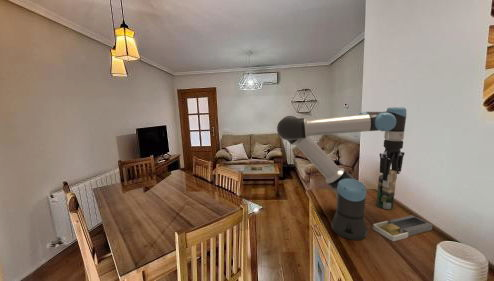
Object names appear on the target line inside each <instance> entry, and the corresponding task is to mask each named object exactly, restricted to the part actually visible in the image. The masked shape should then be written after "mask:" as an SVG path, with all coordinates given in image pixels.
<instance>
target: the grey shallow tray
mask: <svg viewBox="0 0 494 281" xmlns="http://www.w3.org/2000/svg"><path fill="white" fill-rule="evenodd" d="M387 221H388V224H391V223H392V224H394V225H396V226H398V227H400V228H401V229H400V234H402V233H406V232H407V233H408V237H412V236H415V235H419V234H421V233H425V232H426V233H427V232H429V231H432V230H433V224H432V223H429V222H427V221H425V220H423V219H421V218H419V217H417V216H415V215H413V214H410V215H406V216H403V217H397V218H394V219H389V220H387Z"/></svg>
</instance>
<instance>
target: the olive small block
mask: <svg viewBox="0 0 494 281" xmlns="http://www.w3.org/2000/svg"><path fill="white" fill-rule="evenodd" d="M387 225H389V226H391V227H392V228H394V229H396V230H395V235H398V234H401V233H400V229H401V228H400V227H398V226H396V225H394V224H392V223H391V224H387Z"/></svg>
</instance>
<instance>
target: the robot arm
mask: <svg viewBox="0 0 494 281" xmlns="http://www.w3.org/2000/svg"><path fill="white" fill-rule="evenodd" d="M406 120H407V108H406V107H403V106H402V107H400V106H399V107H395V106H393V107H387V108H386V111H361V112H359V113H358V114H355V115H343V116H333V117H332V116H331V117H324V118H312V119H307V118H305V117H301V118H299V117H296V116H294V115H286V116H284V117H283V118H282V119H280V121H278V123H277V126H276V133H277V134H278V136H279V137H280V138H281V139H282V140H286V141H287V142H288V143H289V144H290V146H291V145H292V146H295V147H297V149H299V151H300V152H301V153H302V154H303V155H304V156H305V157H306V158H307V159H308V160H309V161H310V162H311V164H312V165H313V166H314V167H315V168H316V169H317V170H318V171H319V172H320V173H321V174H322V175H323V176H324V178H325V183H326V184H327V185H328V186H329V188H331V189H332V191H333V192H334V193H335V196H336V211H335V213H334V216H333V218H332V220H331V224H330V225H331V230H332V231H333V232H334V233H336V234H337V235H338V236H340V237H341V238H344V239H348V240H353V241H358V240H363V239H365V238H366V237H367V236H368V227H367V224H366V220H365V208H366V200H367V187H366V185H365V184H364V183H363V182H361V181H359V180H356V179H355V177H353V176H352V174H350V173H349V172H348V171H347V170H346V169H345V168H344V167H339V166H338V165H337V164H336V163H335V161H334V160H332V158H330V156H329V155H328V154H327V152H325V151H324V150H323V149H322V148H321V147H320V145H318V144H317V143H316V142H315V140H314V139H313V138H312V136H323V135H324V136H326V135H338V134H350V133H351V134H352V133H360V132H375V131H377V132H378V131H379V132H384V135H383V136H384V137H383V138H384V140H383V147H384V150H383V153H379V173H380V174H383V185H382V186H384V187H387V188H389V180H390V175H389V171H390V169H391V170H395V171H397V175H396V180H398V179H397V178H398V175H399V174H401V171H402V167H403V163H404V162H403V161H404V156H405V152H404V151H402V149H403V147H404V136H405V127H406Z"/></svg>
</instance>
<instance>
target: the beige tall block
mask: <svg viewBox="0 0 494 281" xmlns="http://www.w3.org/2000/svg"><path fill="white" fill-rule="evenodd" d="M389 175H390V180H389V188H387V187H384V186H383V189H382V195H385V196H387V197H393V196H394V197H395V193H396V186H397V185H396V183H397V179H396V175H397V176H398V174H397V171H395V170H392V168H390V171H389Z"/></svg>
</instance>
